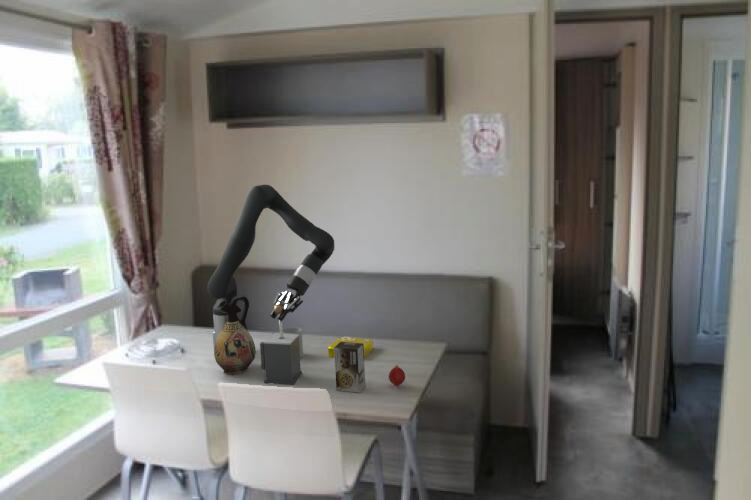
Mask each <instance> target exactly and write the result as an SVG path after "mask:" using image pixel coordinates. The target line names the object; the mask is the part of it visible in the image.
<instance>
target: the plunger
mask: <svg viewBox="0 0 751 500" xmlns="http://www.w3.org/2000/svg"><path fill="white" fill-rule="evenodd" d="M284 306H285V304H276V305H274V304H273V310H274V314H275V315H277V316H278V315H279V314H280V312H281V311H282V310H284V309H283V308H284ZM283 327H284V326H283V320H282V321H280V320H278V330H279V332H278V333H280V339H283V329H284V328H283Z"/></svg>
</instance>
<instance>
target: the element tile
mask: <svg viewBox="0 0 751 500" xmlns="http://www.w3.org/2000/svg"><path fill="white" fill-rule="evenodd" d="M340 342H350V343H363V345H364V358H366V357H367V356H368V355H369V354H370V353H371V352H372V351H373V350H374V341H373V339H371V338H361V337H354V336H353V337H351V336H341V337H339V338H338V339H336V340H335V341H334V342H333V343H331V344H330V345H329V346H327V349H328V352H327V353H328V357H330V358H334V359H335V356H334V347H335V346H337V344H339V343H340Z"/></svg>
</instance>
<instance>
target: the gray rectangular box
mask: <svg viewBox="0 0 751 500" xmlns="http://www.w3.org/2000/svg"><path fill="white" fill-rule="evenodd" d="M277 333H278V332H277ZM277 333H272V334H271V335H270V336H268V338H266V339H265V340H264V341H261V342H260V343H259V350H260V363H261V364H260V365H261V370H264V371H265V379H264V381H263V382H264V383H263V384H269V383H273V384H274V385H295V383H296V382H297V381H298V379H299V378H300V377H301V376H302V375H303V370H301V358H300V349H299V334H283V339H280V334H277Z"/></svg>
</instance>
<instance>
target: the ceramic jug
mask: <svg viewBox="0 0 751 500" xmlns="http://www.w3.org/2000/svg"><path fill="white" fill-rule="evenodd" d="M236 302H237V303H238V302H244V306H243V310H242V309H241V308H240V307H239V306H238V304H237V305H235V303H236ZM249 308H250V301H249V299H248V298H247V296H245V295H242V294H237V296H235V297H234V298H233V299H232V301H231V303H230V304H229V303H227V302H226V301H225V300H223V301H222V302H221V303H220V304H219V305H218V306H217V309H216V311H218V312H223V313H226V314H227V315H228V320H227V322H226V324H225V325H224V327H223V328H222V330H221V332H220V334H219V336H218V338H217V340H216V344H215V350H214V349H213V356H214V359H215V362H216V364H217V366H219V367H220V368H221V369H222V370H223V374H225V375H227V376H237V375H242V374H245V373H247V372H248V371H249V369H250V366H251V364H252V363H253V362H254V361H255V359H256V355H257V354H256V353H257V352H256V344H255V341H254V339H253V337H252V336H251V333H250V332H249V330H248V326H247V324H246V319H247V316H248V312H249ZM241 312H242V313H241ZM238 313H241V317H240V318H239V317H238Z"/></svg>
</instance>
